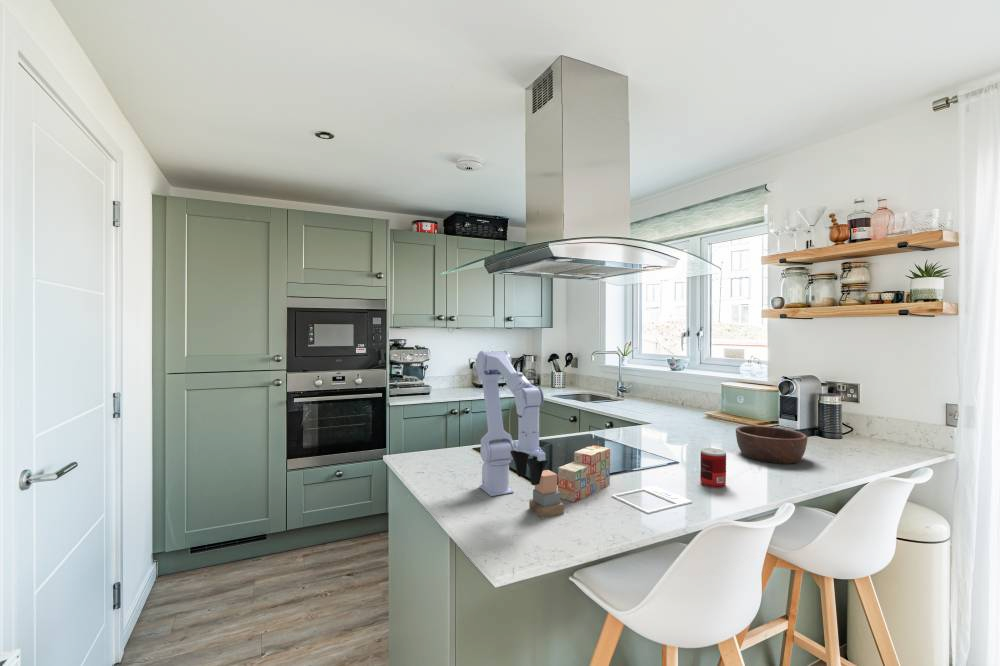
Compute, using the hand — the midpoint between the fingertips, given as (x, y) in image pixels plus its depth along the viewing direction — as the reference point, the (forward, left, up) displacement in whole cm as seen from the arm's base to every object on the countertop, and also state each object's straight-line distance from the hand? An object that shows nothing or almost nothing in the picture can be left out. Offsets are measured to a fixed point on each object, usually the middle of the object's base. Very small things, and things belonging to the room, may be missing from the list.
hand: (528, 480), depth 126 cm
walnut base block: (0, +6, -10) cm, 11 cm away
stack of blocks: (-9, +25, -10) cm, 29 cm away
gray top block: (0, +6, -7) cm, 9 cm away
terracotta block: (0, +6, -4) cm, 7 cm away
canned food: (+4, +68, -10) cm, 69 cm away
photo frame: (+6, +39, -10) cm, 41 cm away
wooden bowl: (-9, +117, -10) cm, 118 cm away
